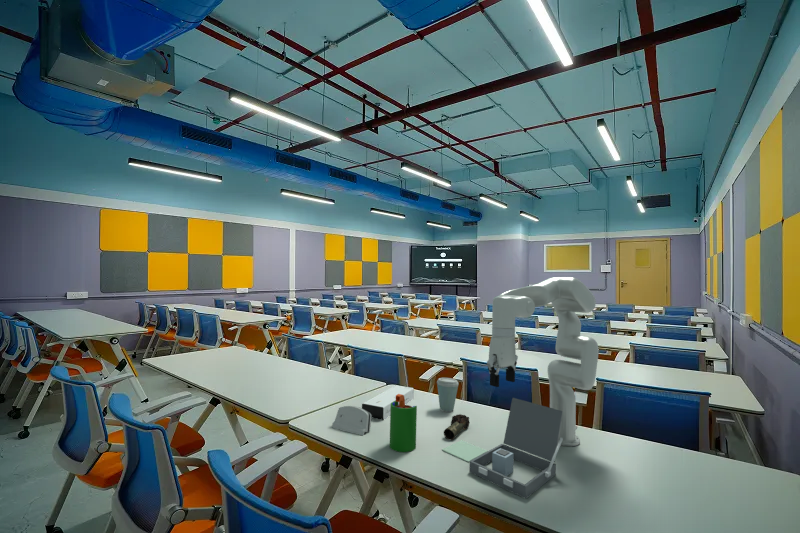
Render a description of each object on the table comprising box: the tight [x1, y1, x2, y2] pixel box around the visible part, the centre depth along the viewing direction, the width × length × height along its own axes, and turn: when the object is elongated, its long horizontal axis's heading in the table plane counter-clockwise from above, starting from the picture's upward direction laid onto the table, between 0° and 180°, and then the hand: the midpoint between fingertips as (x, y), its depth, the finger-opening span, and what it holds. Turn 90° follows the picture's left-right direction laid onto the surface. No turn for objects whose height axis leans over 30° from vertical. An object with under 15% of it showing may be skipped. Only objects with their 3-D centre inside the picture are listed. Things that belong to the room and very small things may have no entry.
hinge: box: [331, 405, 372, 436], centre depth 157 cm, size 17×5×10 cm, turn 62°
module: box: [491, 448, 514, 477], centre depth 124 cm, size 5×5×6 cm
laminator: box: [361, 384, 415, 421], centre depth 184 cm, size 34×12×6 cm, turn 154°
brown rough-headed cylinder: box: [443, 413, 470, 441], centre depth 156 cm, size 18×7×6 cm, turn 147°
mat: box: [441, 440, 488, 464], centre depth 138 cm, size 12×12×1 cm
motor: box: [389, 394, 418, 453], centre depth 141 cm, size 10×9×20 cm
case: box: [469, 438, 563, 499], centre depth 124 cm, size 24×21×12 cm
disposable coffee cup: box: [436, 377, 459, 413], centre depth 181 cm, size 11×11×15 cm
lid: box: [503, 397, 563, 464], centre depth 132 cm, size 17×19×1 cm
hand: (502, 383), depth 126 cm, fingers open, 9 cm apart
